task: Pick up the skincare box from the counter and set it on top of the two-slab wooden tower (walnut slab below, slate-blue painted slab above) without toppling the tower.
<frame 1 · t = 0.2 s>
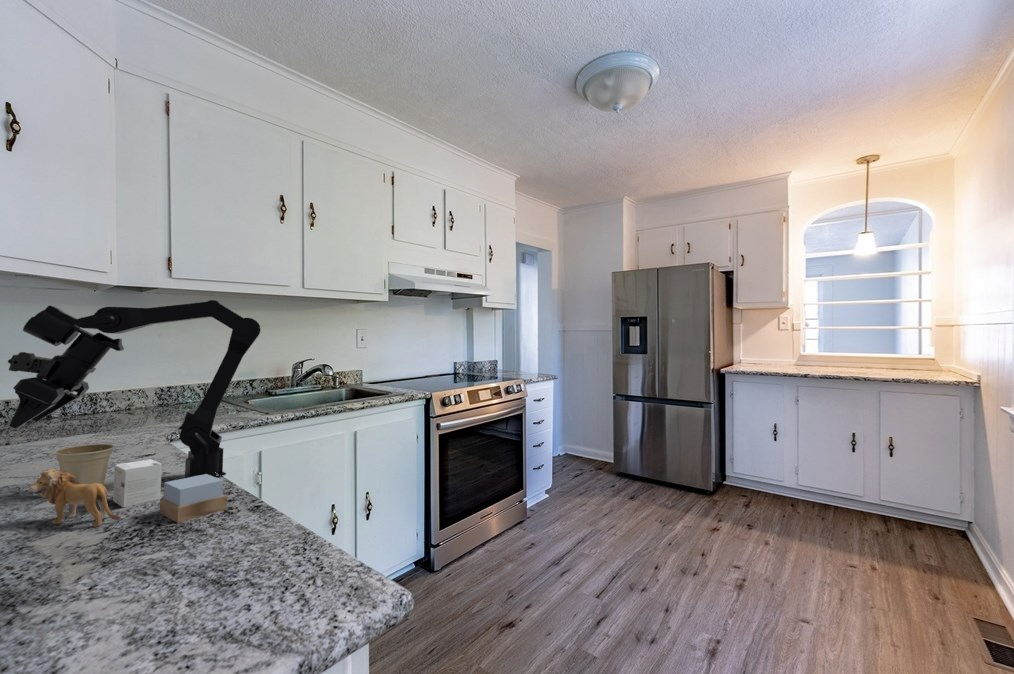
hand: (24, 423, 89), 15 cm above the countertop, tool tilted 30°, fingers open, 9 cm apart
top slab: (193, 497, 83), point 3 cm above the countertop
bottom slab: (193, 513, 83), on the countertop
skincare box: (137, 501, 88), on the countertop
flower pot: (83, 490, 94), on the countertop
lion figurine: (74, 523, 77), on the countertop
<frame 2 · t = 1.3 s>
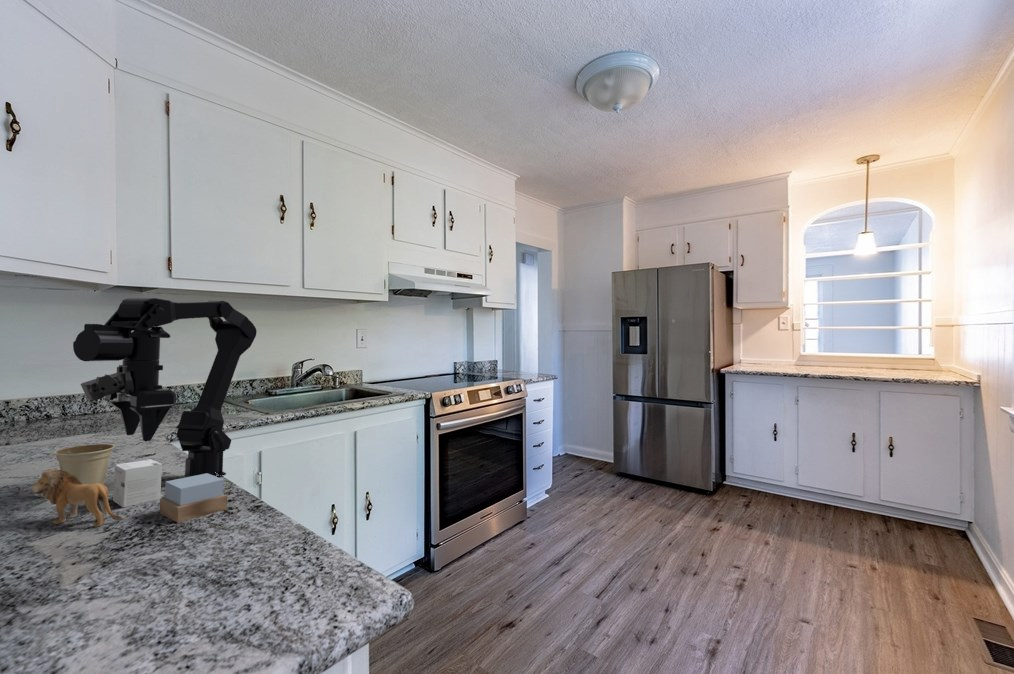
hand: (138, 437, 88), 12 cm above the countertop, tool pointing down, fingers open, 9 cm apart
top slab: (194, 496, 83), point 3 cm above the countertop, touching bottom slab
bottom slab: (193, 513, 83), on the countertop, touching top slab
everything else where it was.
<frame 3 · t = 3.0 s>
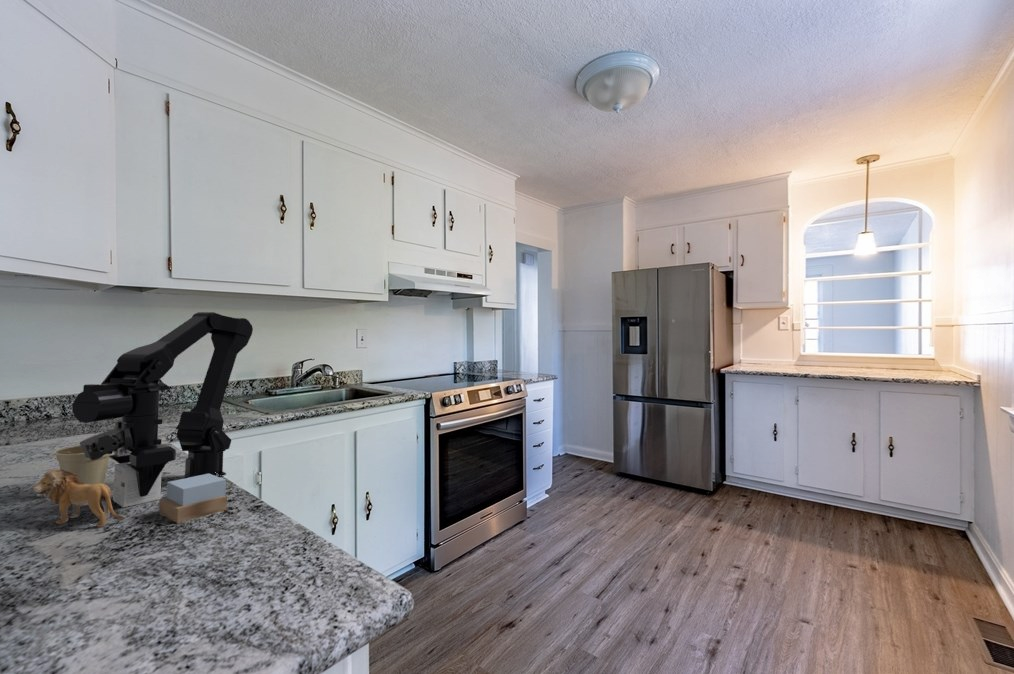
hand: (137, 492, 88), 2 cm above the countertop, tool pointing down, fingers closed on skincare box, 6 cm apart
skincare box: (137, 501, 88), on the countertop, touching gripper
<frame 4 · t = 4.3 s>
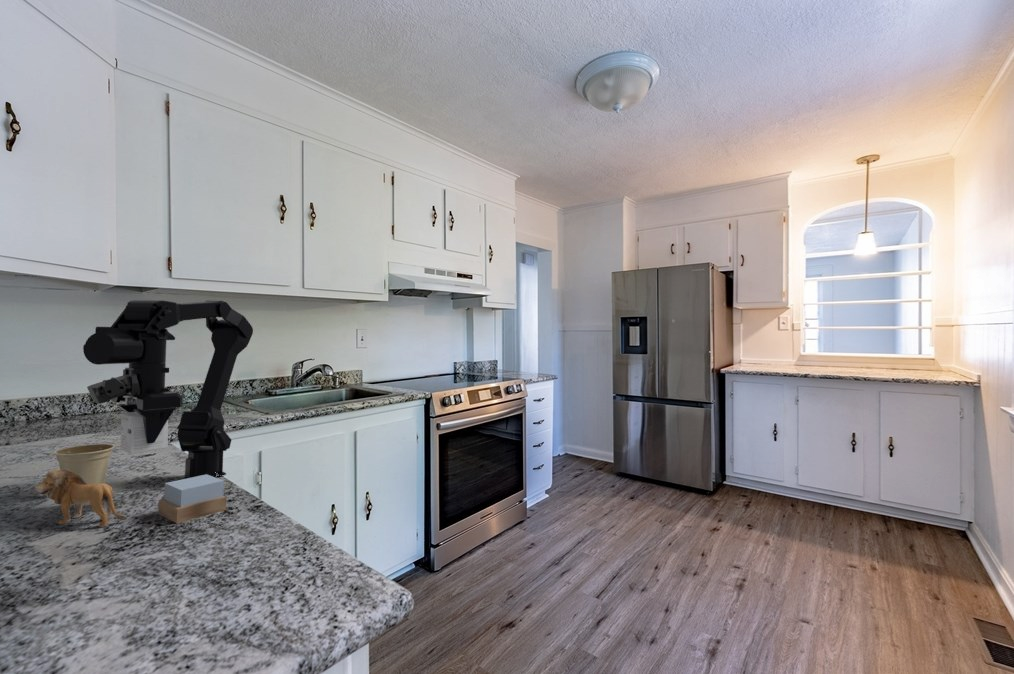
hand: (144, 440, 87), 12 cm above the countertop, tool pointing down, fingers closed on skincare box, 6 cm apart
skincare box: (144, 450, 87), point 10 cm above the countertop, touching gripper
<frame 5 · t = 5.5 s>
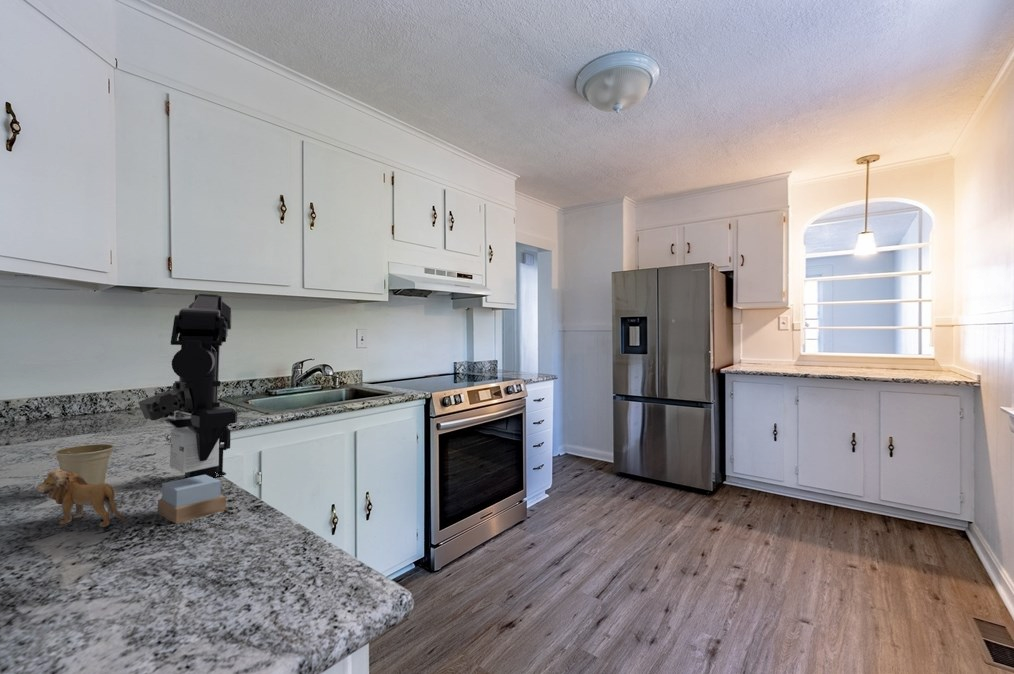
hand: (195, 458, 83), 10 cm above the countertop, tool pointing down, fingers closed on skincare box, 6 cm apart
skincare box: (194, 467, 83), point 8 cm above the countertop, touching gripper
when the fingers open (9 cm above the countertop, at t = 6.1 s): skincare box drops 1 cm, resting on top slab.
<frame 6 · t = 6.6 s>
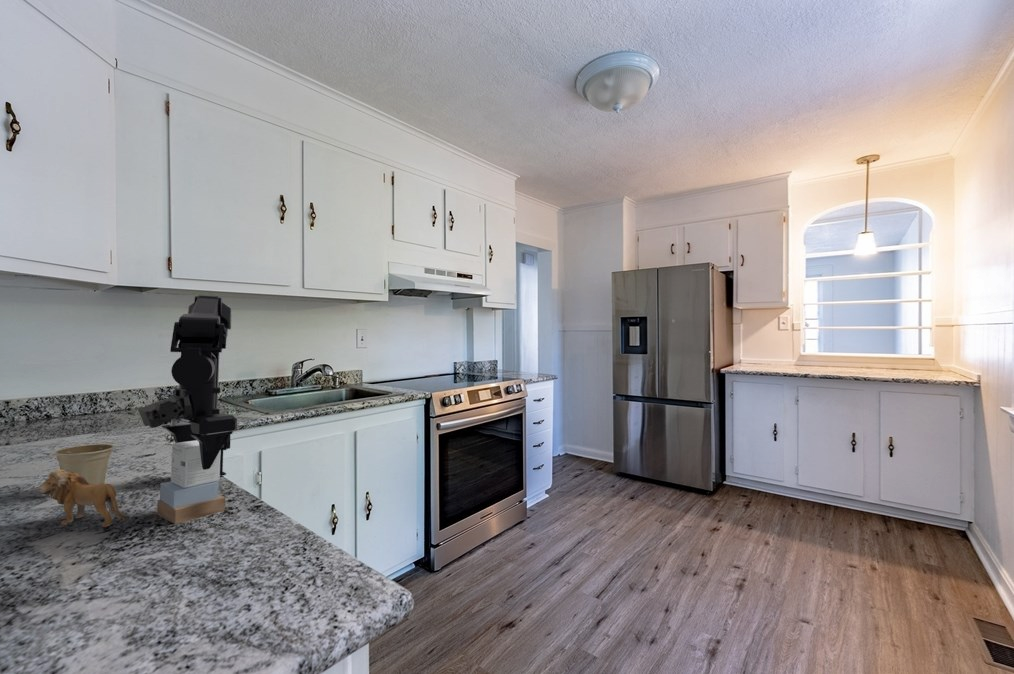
hand: (195, 465, 83), 9 cm above the countertop, tool pointing down, fingers open, 9 cm apart
top slab: (189, 498, 82), point 2 cm above the countertop, touching bottom slab, skincare box
skincare box: (195, 482, 83), point 5 cm above the countertop, touching top slab
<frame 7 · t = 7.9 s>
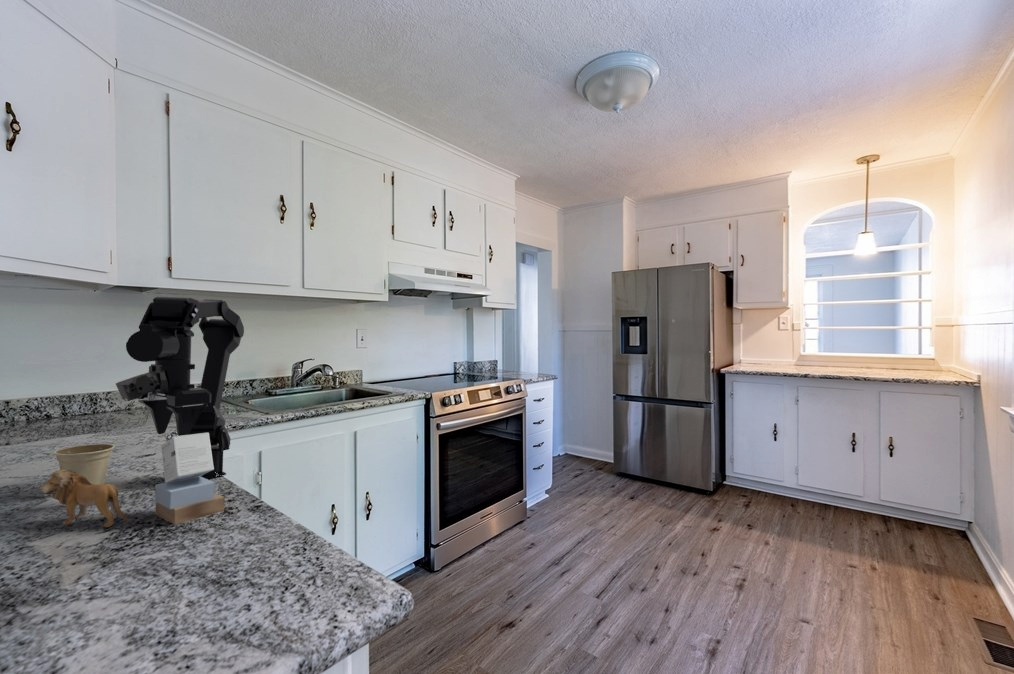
hand: (171, 436, 88), 13 cm above the countertop, tool pointing down, fingers open, 9 cm apart
skincare box: (190, 477, 82), point 7 cm above the countertop, touching top slab
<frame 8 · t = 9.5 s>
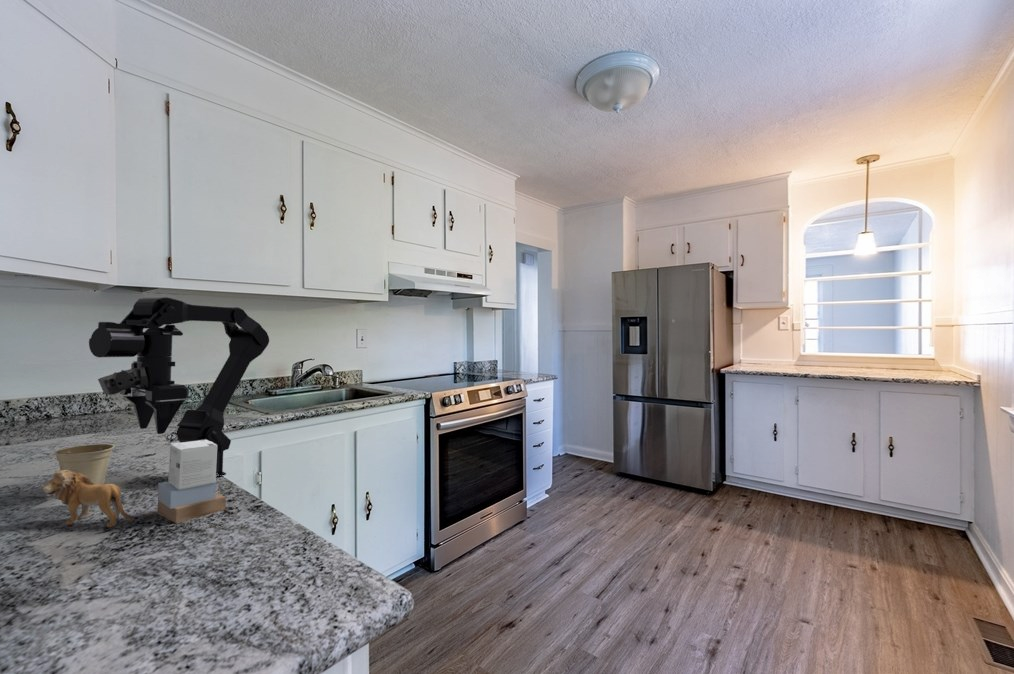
hand: (151, 431, 92), 13 cm above the countertop, tool pointing down, fingers open, 9 cm apart
skincare box: (192, 484, 82), point 5 cm above the countertop, touching top slab
at the end: skincare box 1.0 cm off-centre on the top slab, point 2.8 cm above the top slab's base; top slab 0.9 cm off-centre on the bottom slab, point 3.0 cm above the bottom slab's base; top slab tilted 0° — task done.
